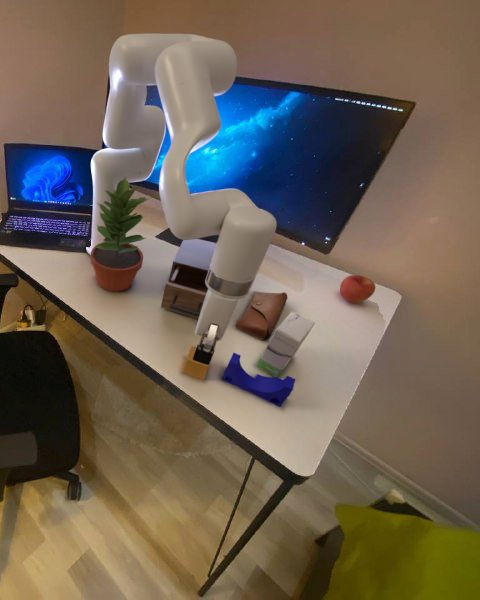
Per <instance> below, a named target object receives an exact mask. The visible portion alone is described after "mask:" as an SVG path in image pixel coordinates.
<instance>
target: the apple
mask: <svg viewBox="0 0 480 600" xmlns="http://www.w3.org/2000/svg"><path fill="white" fill-rule="evenodd" d="M339 285H340V286H339V293H340V296H341V297H342V298H343V299H345V301H348V302H349V303H351V304H354V303H355V304H356V303H362V302H364V301H366V300H368V299H370V298H371V297H372V296H373V294H374V293H375V291H376V284H375V282H374V281H373V280H371V278H368V277H366V276H363V275H360V274H351V275H348V276H346V277H345V278H344V279H342V281H341V283H340V284H339Z"/></svg>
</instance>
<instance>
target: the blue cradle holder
mask: <svg viewBox="0 0 480 600" xmlns="http://www.w3.org/2000/svg"><path fill="white" fill-rule="evenodd" d="M241 356H242V355H241V354H238V353H236V352H233V353H232V355H231V356H230V358H229V361H228V363H227V365H226V367H225V370H224V372H223V374H222V376H221V380H222V381H224V382H226V383H229V384H230V385H233V386H234V387H237V388H239V389H241V390H244V391H245V392H247V393H250V394H252V395H254V396H256V397H258V398H260V399H261V400H265V401H266V402H269V403H271V404H273V405H275V406H277V407H279V408H281V407H282V405H283V404H284V403H285V402H286V400H287V399H288V397H289V396H290V395H291V393H292V392H293V391H294V386H295V383H296V378H294V377H292V376H290V375H286V376H285V377H284V378H283V379H282V378H280V377H279V376H278V377H275V376H267V375H266V376H265V375H261V374H260V373H257V374H256V375H255V376H252V375H250V374H249V373H248V372H246V370H244V368H243V367H242V364H241Z"/></svg>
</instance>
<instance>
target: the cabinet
mask: <svg viewBox="0 0 480 600" xmlns="http://www.w3.org/2000/svg"><path fill="white" fill-rule="evenodd" d="M181 241H182V242H181V244H180V246H179V248H178V250H177V252H176V255H175V257H174V258H173V260H172V264H171V269H170V273H169V277H168V281H167V282H171V279H172V277H173V274H174V272H175V270H176V268H177V265H179V266H183V267H186V268H190V269H194V270H198V271H202V272H206V273H208V270H209V267H210V264H211V260H212V257H213V254H214V251H215V247H216V244H217V242H213V241H208V240H204V239H201V238H197V239H192V240H181Z"/></svg>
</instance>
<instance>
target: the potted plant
mask: <svg viewBox="0 0 480 600" xmlns="http://www.w3.org/2000/svg"><path fill="white" fill-rule="evenodd" d="M130 184H131V183H129V182H128V181H127V180H126V176H125V178H124V180H122V181H120V182H119V183H118V185H117V189H116V191H115V190H114V193H113V194H112V193H111V192H109V191H105V192H106V193H107V194H108V195H109V196H110V197H111V203H109V202H107V201H104V202H103V203H104V204H106V205H107V206H108V207H110V210H109V209H107V208H106V207H105V206H104V205H102V204H98V203H97V202H96V203H97V204H98V205H99V206H100V208H101V210H102V211H103V212H104V213H105V214H102V213H101V212H100V214H101V216H100V217H101V219H102V220H103V221H104V224H105V226H106V227H104V226H98V225H97V227H98V228H97V230H98V231H99V232H100V233H101V234H102V235H103V236H104V237H105V239H104V242H103V243H100V244H97V245H96V246H95V247H94V248H93V249H92V251H91V255H90V264H91V266H92V267H93V270H94V274H95V279H96V282H97V284H98V285H99V286H100V287H101V288H102V289H104V290H106V291H110V292H121V291H126V290H127V289H129V288H130V287H131V286H132V284H133V282H134V279H135V278H136V276H137V274H138V272H139V271H140V270H141V268H142V267H143V264H144V263H143V262H144V254H143V252H142V251H141V249H140V248H139V247H138V246H137V245H135V244H132V243H136V242H140V241H143V240H146V237H143V235H141V234H133V235H128V236H127V234H128V232H130V231H131V230H132V229H133V228H134V227H136V226H137V225H138V224H139V223H141V221H142V219H143V218H145V217H146V216H145V215H144V216H143V215H142V214H138V212H135V213H133V214H131V213H132V212H133V211H134V210H136V208H137V207H138V206H139V205H141V204H142V203H144V202H146V201H148V200H150V199H151V198H150V197H149V198H147V197H143V196H140V197H139V198H131V197H133V195H134V193H135V192H136V191H137V188H136V187H133V188H132V189H130V187H131V185H130Z"/></svg>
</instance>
